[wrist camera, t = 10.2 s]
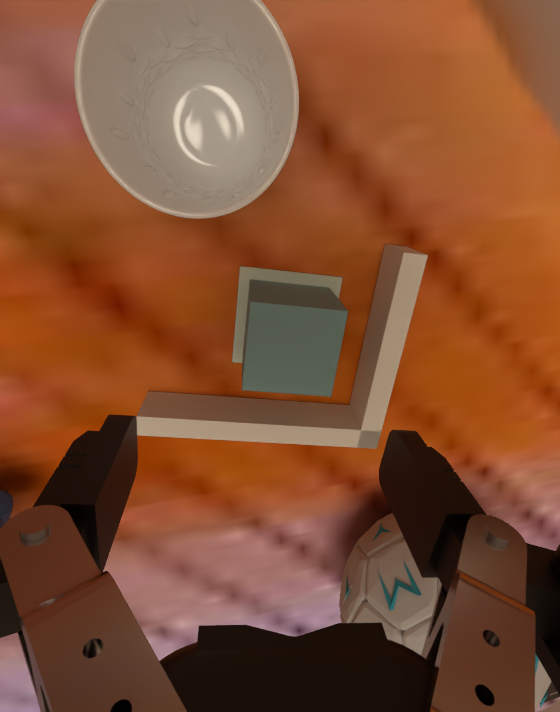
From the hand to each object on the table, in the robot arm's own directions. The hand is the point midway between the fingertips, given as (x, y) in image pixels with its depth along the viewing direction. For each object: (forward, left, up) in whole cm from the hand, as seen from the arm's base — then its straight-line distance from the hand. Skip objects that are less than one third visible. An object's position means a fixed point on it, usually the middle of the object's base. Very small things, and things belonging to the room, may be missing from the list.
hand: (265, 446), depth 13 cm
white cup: (-3, +10, -17) cm, 20 cm away
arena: (+1, -2, -16) cm, 17 cm away
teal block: (+2, -1, -16) cm, 16 cm away
